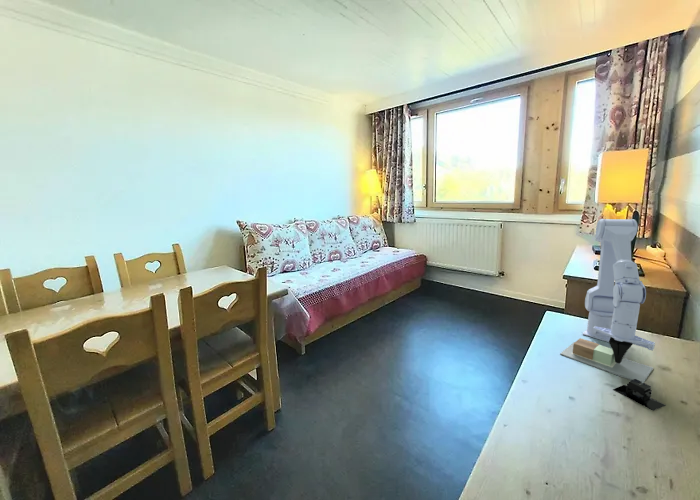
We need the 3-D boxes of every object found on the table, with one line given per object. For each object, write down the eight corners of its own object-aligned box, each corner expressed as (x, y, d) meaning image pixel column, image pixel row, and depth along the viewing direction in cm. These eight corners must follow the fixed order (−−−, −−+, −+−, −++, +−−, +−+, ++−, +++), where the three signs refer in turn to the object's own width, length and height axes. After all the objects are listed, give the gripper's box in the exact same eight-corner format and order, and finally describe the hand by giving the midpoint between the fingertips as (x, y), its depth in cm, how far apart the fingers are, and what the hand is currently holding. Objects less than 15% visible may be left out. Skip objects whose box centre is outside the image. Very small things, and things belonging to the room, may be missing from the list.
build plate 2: (674, 410, 81) (677, 394, 80) (657, 418, 79) (660, 402, 78) (619, 382, 93) (621, 368, 92) (603, 389, 90) (605, 374, 89)
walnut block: (578, 347, 110) (579, 338, 109) (598, 354, 106) (599, 344, 105) (572, 353, 107) (573, 343, 106) (592, 359, 102) (593, 349, 102)
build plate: (574, 342, 114) (574, 341, 114) (653, 368, 97) (653, 367, 97) (560, 354, 107) (560, 353, 107) (642, 384, 90) (642, 383, 90)
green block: (597, 354, 105) (598, 344, 105) (614, 360, 102) (616, 350, 101) (592, 359, 103) (593, 349, 102) (610, 365, 99) (611, 355, 98)
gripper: (591, 317, 100) (586, 356, 103) (653, 333, 88) (645, 377, 91) (598, 311, 104) (593, 349, 107) (659, 326, 92) (651, 368, 95)
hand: (618, 361), depth 99 cm, fingers closed
